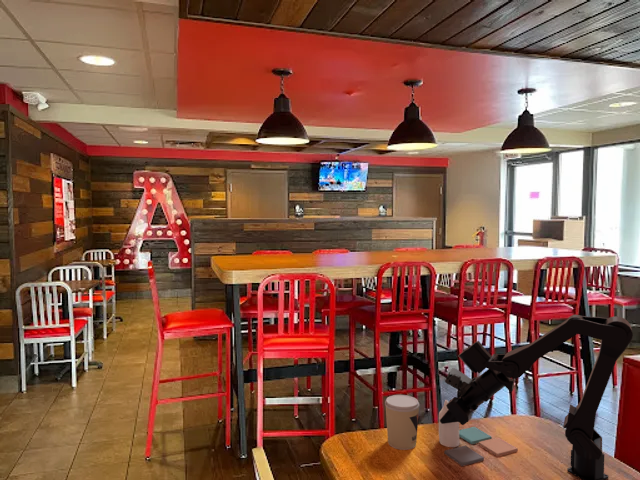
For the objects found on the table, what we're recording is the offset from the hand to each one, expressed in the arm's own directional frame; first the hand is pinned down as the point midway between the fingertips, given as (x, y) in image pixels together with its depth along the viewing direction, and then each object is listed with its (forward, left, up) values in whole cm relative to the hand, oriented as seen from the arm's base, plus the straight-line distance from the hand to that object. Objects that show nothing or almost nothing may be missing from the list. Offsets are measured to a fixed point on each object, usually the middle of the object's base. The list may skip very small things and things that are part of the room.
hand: (443, 418), depth 133 cm
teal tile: (-1, -9, -7) cm, 11 cm away
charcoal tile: (-9, +1, -7) cm, 11 cm away
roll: (-1, -1, -7) cm, 7 cm away
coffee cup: (+4, +11, -7) cm, 14 cm away
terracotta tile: (-9, -11, -7) cm, 16 cm away
